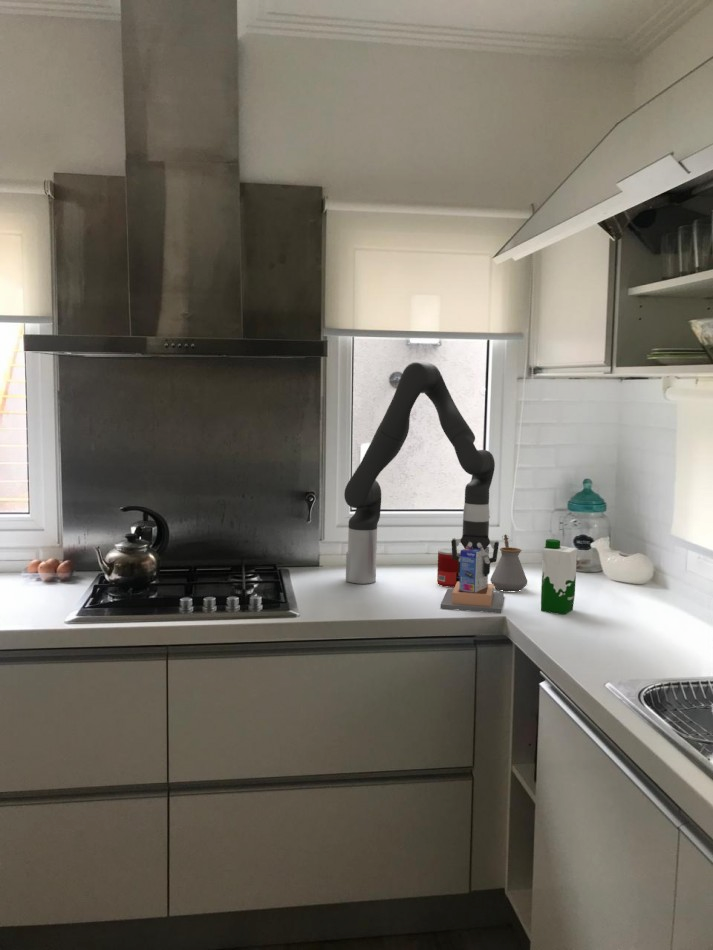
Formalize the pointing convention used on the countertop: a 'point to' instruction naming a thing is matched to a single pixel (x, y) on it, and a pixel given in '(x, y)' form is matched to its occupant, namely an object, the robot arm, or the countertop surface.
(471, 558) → the ink cartridge box
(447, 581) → the canned food
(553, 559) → the milk carton
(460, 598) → the dock
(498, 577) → the coffee pot
